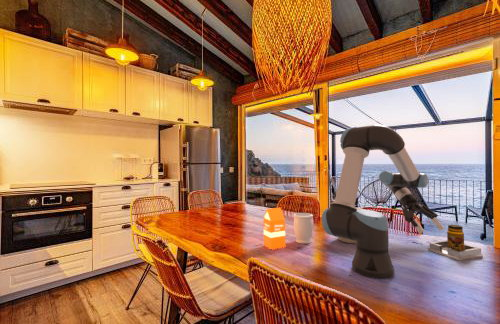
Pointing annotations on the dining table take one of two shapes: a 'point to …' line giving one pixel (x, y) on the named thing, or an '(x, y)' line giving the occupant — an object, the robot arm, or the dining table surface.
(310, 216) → the jar
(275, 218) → the orange juice
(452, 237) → the condiment
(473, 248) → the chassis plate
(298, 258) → the dining table surface
